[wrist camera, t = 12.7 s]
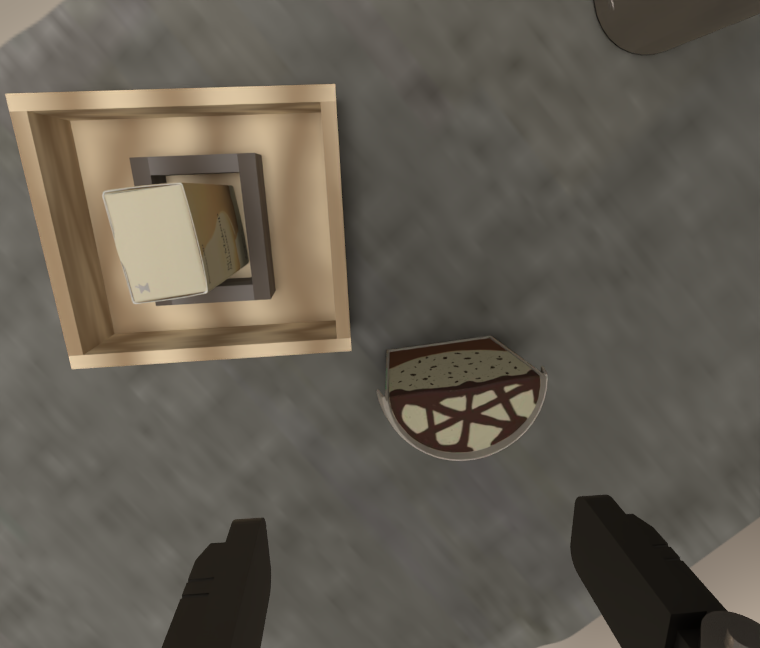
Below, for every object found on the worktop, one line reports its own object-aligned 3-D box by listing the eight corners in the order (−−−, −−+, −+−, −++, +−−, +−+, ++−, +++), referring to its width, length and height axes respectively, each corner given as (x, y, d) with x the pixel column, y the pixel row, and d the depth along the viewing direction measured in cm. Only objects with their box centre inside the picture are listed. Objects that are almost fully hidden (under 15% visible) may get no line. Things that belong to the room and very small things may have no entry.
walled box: (335, 99, 36) (335, 83, 31) (349, 327, 41) (351, 350, 36) (60, 108, 35) (5, 93, 29) (110, 342, 40) (71, 369, 34)
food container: (378, 414, 44) (388, 479, 35) (369, 352, 42) (378, 402, 33) (509, 395, 45) (556, 454, 35) (507, 333, 43) (555, 376, 33)
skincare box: (251, 263, 38) (212, 299, 27) (196, 271, 38) (132, 311, 26) (233, 179, 36) (183, 179, 25) (175, 187, 36) (97, 191, 25)
